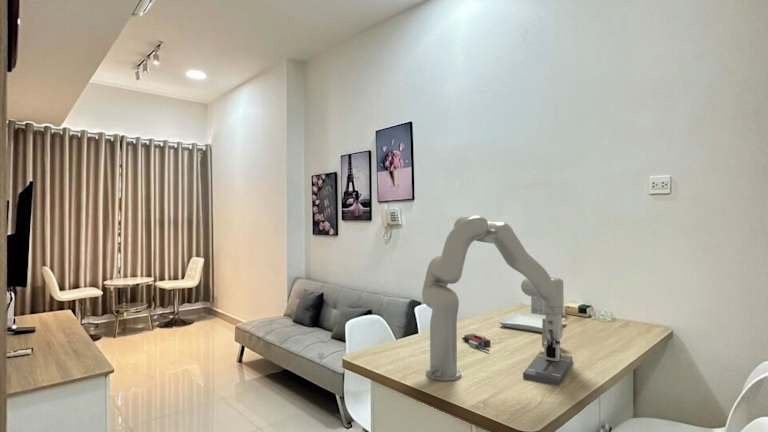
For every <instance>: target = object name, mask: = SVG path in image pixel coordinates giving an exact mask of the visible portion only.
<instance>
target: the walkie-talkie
mask: <svg viewBox="0 0 768 432" xmlns="http://www.w3.org/2000/svg"><path fill="white" fill-rule="evenodd" d="M461 339H462V340H463V341H464V342H465V343H467V344H469V347H471V348H474V349H480V350H483V351H485V352H486V351H487V352H490V349H488V348H487V347H491V340H490V339H487V338H486V336H484V335H482V334H476V333H469V334H464V337H463V336H462V338H461Z"/></svg>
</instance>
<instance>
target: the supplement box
mask: <svg viewBox="0 0 768 432" xmlns="http://www.w3.org/2000/svg"><path fill="white" fill-rule="evenodd" d="M530 314H539V315H546V314H544V313H543V300H541V299H538V298H534V297H531V296H530Z"/></svg>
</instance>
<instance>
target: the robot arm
mask: <svg viewBox="0 0 768 432" xmlns="http://www.w3.org/2000/svg"><path fill="white" fill-rule="evenodd" d="M453 225H454V226H453V228H452V230H451V231H450V232H449V234H448V235H447V237H446V239H445V243H444V246H443V248H442V252H441V255H438V256H437V255H436V256H434V258H432V259H431V261H430V262H429V264H428V266H427V269H426V273H425V278H424V282H423V285H422V291H421V292H422V293H421V298H422V301H423V303H424V304H425V305H426V307H428V308H430V309H431V316H430V321H429V348H430V349H429V351H430V352H429V354H430V355H429V356H430V357H429V362H430V363H429V364H430V365H429V367H427V369H426V370H425V375H426V377H428V378H430V379H432V380H435V381H439V382H451V381H452V382H453V381H456V380H457V381H458V379H460V378H461V377H462V371H461V370H460V369H459V368H458V356H457V355H458V351H457V350H458V347H457V346H458V344H457V343H458V341H457V339H458V333H457V332H458V330H457V327H458V326H457V325H458V324H457V321H458V320H457V319H458V313H459V306H460V301H459V296H458V294H457V293H456V292H455V291H454V290H453V289H452V288H450V287H448V285H449V284H450V285H453V284H456V283H458V282H459V281H460V280H461V277H462V275H463V269H464V266H465V262H466V256H467V253H468V250H469V247H470V246H471V245H472V243H473V242H474V241H476V242H480V243H487V244H493V245H495V246H494V247H496V248H497V249H496V250H498V252H499V254H500V256H502V258H503V260H504V262H505V263H506V264H507V265H508V266H509V267H510V268H512V269H513V270H514V271H517V272H518V273H520V274H521V275H522V276H524V277H525V278H524V280H522V282H521V284H520V288H521V290H522V292H523V294H525V295H527V296H528V297H530V298H531V297H534V298H538V299H541V300H543V313H544V314H546V316H545V338H546V340H547V345H546V356H547V357H549V358H555V357H556V348H555V343H560V344H561V339H562V338H563V337H564V334H563V322H562V318H563V315H564V314H565V313H564V312H565V311H564V310H565V309H564V307H565V305H564V297H565V296H564V295H565V294H564V280H563V278H559V277H553V276H552V277H551V276H550V274H549V273H548V272H547V270H546V269H545V268H544V267H543V266H542V265H541V264H540V263H539V262H538V261H537V260H536V259H535V258H534V257H533V256H531V255H530V254H529V253H528V252H527V250H526V249H525V247H524V245H523V243H522V242H521V241H520V239H519V237H518V236H517V234H516V233H515V232H514V229H513V228H512V227H511V225H509V224H508V223H507V222H503V221H488V220H487V218H485V217H484V216H482V215H464V216H463V215H462V216H460V217H457V219H456V220H455V222H454V224H453ZM551 338H552V339H551Z"/></svg>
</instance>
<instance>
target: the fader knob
mask: <svg viewBox="0 0 768 432" xmlns="http://www.w3.org/2000/svg"><path fill="white" fill-rule="evenodd" d="M546 345H547V342H545V343H544V346H543V352H544V359H547V360H553V361H559V359H560V353H561V342H560V343H555V348H556V357H555V358H549V357H547V356H546Z"/></svg>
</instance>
